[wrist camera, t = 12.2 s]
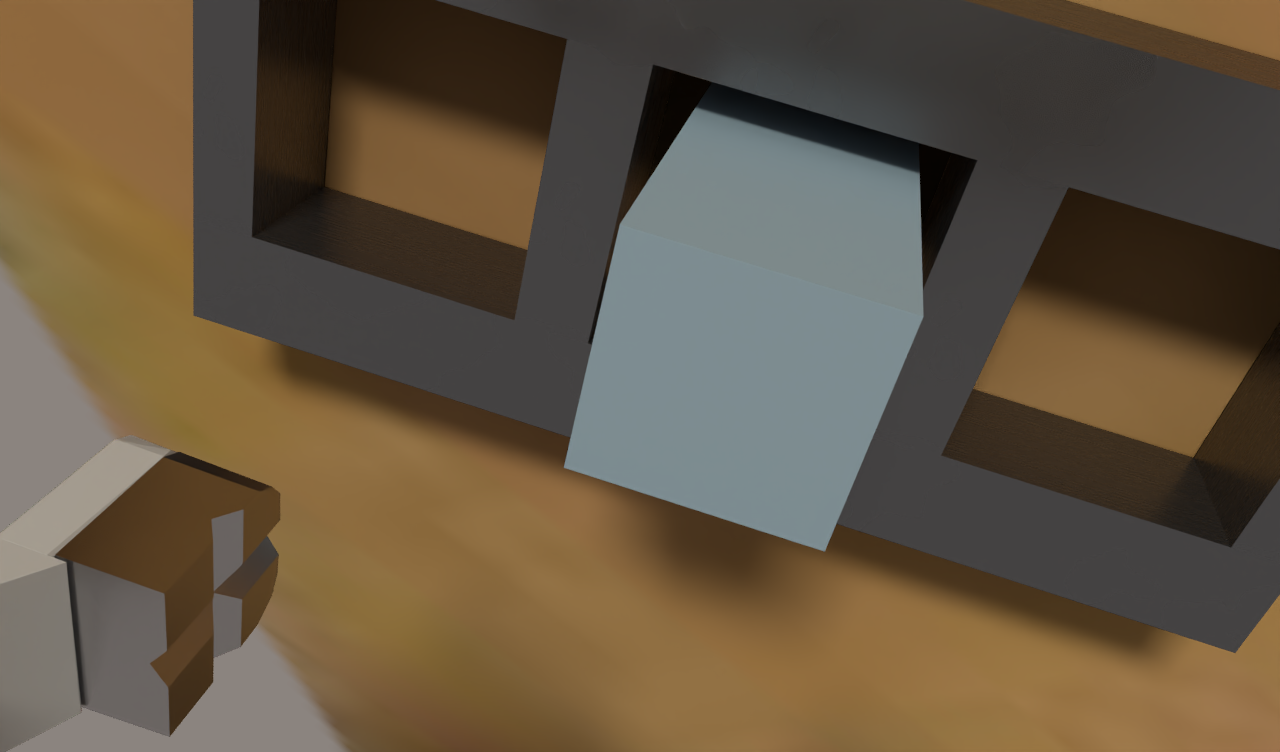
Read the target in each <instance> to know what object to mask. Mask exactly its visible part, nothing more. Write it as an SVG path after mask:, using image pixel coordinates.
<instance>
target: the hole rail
mask: <svg viewBox="0 0 1280 752" xmlns="http://www.w3.org/2000/svg"><path fill="white" fill-rule="evenodd" d="M437 1H440V2H444V3H447V4H450V5H454V6H457V7H461V8H464V9H467V10H471V11H474V12H478V13H481V14H484V15H488V16H491V17H494V18H498V19H501V20H505V21H508V22H511V23H515V24H518V25H521V26H525V27H528V28H532V29H535V30H538V31H542V32H545V33H549V34H552V35H555V36H559V37H562V38H565V39H567V43H566V48H565V53H564V59H563V64H562V69H561V75H560V80H559V85H558V91H557V96H556V101H555V107H554V112H553V117H552V123H551V128H550V133H549V139H548V144H547V149H546V155H545V160H544V165H543V171H542V176H541V181H540V187H539V192H538V197H537V203H536V208H535V213H534V219H533V224H532V229H531V235H530V240H529V245H528V250H525V249H522V248H518V247H515V246H512V245H509V244H506V243H502V242H499V241H496V240H493V239H489V238H486V237H483V236H480V235H477V234H473V233H470V232H467V231H464V230H461V229H457V228H454V227H451V226H448V225H445V224H441V223H438V222H435V221H432V220H429V219H425V218H422V217H419V216H416V215H412V214H409V213H406V212H403V211H400V210H396V209H393V208H390V207H387V206H384V205H380V204H377V203H374V202H371V201H368V200H364V199H361V198H358V197H355V196H351V195H348V194H345V193H342V192H339V191H335V190H332V189H329V188H326V187H324V176H325V161H326V147H327V133H328V118H329V104H330V90H331V75H332V61H333V47H334V32H335V18H336V4H337V0H193V193H194V316H197V317H200V318H203V319H206V320H209V321H212V322H216V323H219V324H222V325H225V326H228V327H231V328H234V329H237V330H240V331H243V332H246V333H249V334H253V335H256V336H259V337H262V338H265V339H268V340H271V341H274V342H277V343H280V344H283V345H287V346H290V347H293V348H296V349H299V350H302V351H305V352H308V353H311V354H314V355H317V356H320V357H324V358H327V359H330V360H333V361H336V362H339V363H342V364H345V365H348V366H351V367H354V368H357V369H361V370H364V371H367V372H370V373H373V374H376V375H379V376H382V377H385V378H388V379H391V380H395V381H398V382H401V383H404V384H407V385H410V386H413V387H416V388H419V389H422V390H425V391H428V392H432V393H435V394H438V395H441V396H444V397H447V398H450V399H453V400H456V401H459V402H462V403H465V404H469V405H472V406H475V407H478V408H481V409H484V410H487V411H490V412H493V413H496V414H499V415H502V416H506V417H509V418H512V419H515V420H518V421H521V422H524V423H527V424H530V425H533V426H536V427H540V428H543V429H546V430H549V431H552V432H555V433H558V434H561V435H564V436H567V437H570V438H571V434H572V430H573V425H574V421H575V417H576V412H577V408H578V404H579V399H580V395H581V391H582V386H583V382H584V378H585V373H586V369H587V365H588V360H589V356H590V352H591V347H592V343H593V339H594V334H595V330H596V326H597V321H598V317H599V313H600V308H601V304H602V300H603V295H604V291H605V287H606V282H607V278H608V274H609V269H610V265H611V261H612V256H613V252H614V247H615V243H616V239H617V234H618V230H619V226H620V223H621V222H622V220H623V219H624V217H625V216H626V214H627V213H628V211H629V210H630V208H631V206H632V205H633V203H634V202H635V200H636V199H637V197H638V196H639V194H640V193H641V191H642V189H643V188H644V186H645V185H646V183H647V182H648V180H649V176H650V172H651V168H652V164H653V160H654V156H655V151H656V147H657V143H658V139H659V135H660V131H661V127H662V123H663V119H664V115H665V111H666V107H667V103H668V99H669V95H670V90H671V86H672V82H673V78H674V74H675V71H677V72H681V73H684V74H687V75H691V76H694V77H697V78H701V79H704V80H708V81H711V82H714V83H718V84H721V85H725V86H728V87H731V88H735V89H738V90H741V91H745V92H748V93H752V94H755V95H758V96H762V97H765V98H769V99H772V100H775V101H779V102H782V103H785V104H789V105H792V106H796V107H799V108H802V109H806V110H809V111H813V112H816V113H819V114H823V115H826V116H829V117H833V118H836V119H840V120H843V121H846V122H850V123H853V124H857V125H860V126H863V127H867V128H870V129H873V130H877V131H880V132H884V133H887V134H890V135H894V136H897V137H901V138H904V139H907V140H911V141H914V142H917V143H921V144H924V145H928V146H931V147H934V148H938V149H941V150H945V151H948V152H951V155H950V158H949V160H948V163H947V165H946V168H945V170H944V173H943V175H942V178H941V180H940V183H939V185H938V187H937V190H936V192H935V195H934V197H933V200H932V202H931V205H930V207H929V210H928V212H927V215H926V217H925V220H924V222H923V225H922V227H921V241H922V279H923V319H922V321H921V323H920V326H919V328H918V331H917V333H916V335H915V338H914V340H913V343H912V345H911V347H910V350H909V352H908V354H907V357H906V359H905V362H904V364H903V366H902V369H901V371H900V373H899V376H898V378H897V381H896V383H895V385H894V388H893V390H892V392H891V395H890V397H889V400H888V402H887V404H886V407H885V409H884V412H883V414H882V416H881V419H880V421H879V423H878V426H877V428H876V431H875V433H874V435H873V438H872V440H871V442H870V445H869V447H868V450H867V452H866V454H865V457H864V459H863V462H862V464H861V466H860V469H859V471H858V473H857V476H856V478H855V481H854V483H853V485H852V488H851V490H850V492H849V495H848V497H847V500H846V502H845V504H844V507H843V509H842V511H841V514H840V516H839V519H838V521H837V523H836V524H839V525H842V526H845V527H848V528H851V529H854V530H857V531H860V532H863V533H867V534H870V535H873V536H876V537H879V538H882V539H885V540H888V541H891V542H894V543H897V544H900V545H904V546H907V547H910V548H913V549H916V550H919V551H922V552H925V553H928V554H931V555H934V556H938V557H941V558H944V559H947V560H950V561H953V562H956V563H959V564H962V565H965V566H968V567H971V568H975V569H978V570H981V571H984V572H987V573H990V574H993V575H996V576H999V577H1002V578H1005V579H1008V580H1012V581H1015V582H1018V583H1021V584H1024V585H1027V586H1030V587H1033V588H1036V589H1039V590H1042V591H1046V592H1049V593H1052V594H1055V595H1058V596H1061V597H1064V598H1067V599H1070V600H1073V601H1076V602H1079V603H1083V604H1086V605H1089V606H1092V607H1095V608H1098V609H1101V610H1104V611H1107V612H1110V613H1113V614H1116V615H1120V616H1123V617H1126V618H1129V619H1132V620H1135V621H1138V622H1141V623H1144V624H1147V625H1150V626H1153V627H1157V628H1160V629H1163V630H1166V631H1169V632H1172V633H1175V634H1178V635H1181V636H1184V637H1187V638H1191V639H1194V640H1197V641H1200V642H1203V643H1206V644H1209V645H1212V646H1215V647H1218V648H1221V649H1224V650H1228V651H1231V652H1234V653H1235V652H1236V651H1237V650H1238V649H1239V647H1240V646H1241V645H1242V643H1243V642H1244V641H1245V639H1246V638H1247V637H1248V635H1249V634H1250V633H1251V631H1252V630H1253V629H1254V627H1255V626H1256V625H1257V623H1258V622H1259V621H1260V620H1261V618H1262V617H1263V616H1264V614H1265V613H1266V612H1267V610H1268V609H1269V608H1270V606H1271V605H1272V604H1273V602H1274V601H1275V600H1276V598H1277V597H1278V596H1279V595H1280V324H1279V325H1278V327H1277V329H1276V330H1275V332H1274V333H1273V335H1272V336H1271V338H1270V340H1269V341H1268V343H1267V344H1266V346H1265V347H1264V349H1263V350H1262V352H1261V354H1260V355H1259V357H1258V358H1257V360H1256V361H1255V363H1254V365H1253V366H1252V368H1251V369H1250V371H1249V372H1248V374H1247V376H1246V377H1245V379H1244V380H1243V382H1242V383H1241V385H1240V387H1239V388H1238V390H1237V391H1236V393H1235V394H1234V396H1233V397H1232V399H1231V401H1230V402H1229V404H1228V405H1227V407H1226V408H1225V410H1224V412H1223V413H1222V415H1221V416H1220V418H1219V419H1218V421H1217V423H1216V424H1215V426H1214V427H1213V429H1212V430H1211V432H1210V434H1209V435H1208V437H1207V438H1206V440H1205V441H1204V443H1203V444H1202V446H1201V448H1200V449H1199V451H1198V452H1197V454H1196V455H1195V457H1194V458H1192V457H1189V456H1186V455H1183V454H1179V453H1176V452H1173V451H1170V450H1167V449H1163V448H1160V447H1157V446H1154V445H1151V444H1147V443H1144V442H1141V441H1138V440H1135V439H1131V438H1128V437H1125V436H1122V435H1118V434H1115V433H1112V432H1109V431H1106V430H1102V429H1099V428H1096V427H1093V426H1090V425H1086V424H1083V423H1080V422H1077V421H1074V420H1070V419H1067V418H1064V417H1061V416H1058V415H1054V414H1051V413H1048V412H1045V411H1041V410H1038V409H1035V408H1032V407H1029V406H1025V405H1022V404H1019V403H1016V402H1013V401H1009V400H1006V399H1003V398H1000V397H997V396H993V395H990V394H987V393H984V392H980V391H977V390H974V389H973V387H974V385H975V383H976V381H977V379H978V377H979V375H980V373H981V370H982V368H983V366H984V364H985V362H986V360H987V358H988V356H989V354H990V351H991V349H992V347H993V345H994V343H995V341H996V339H997V337H998V335H999V333H1000V330H1001V328H1002V326H1003V324H1004V322H1005V320H1006V318H1007V316H1008V314H1009V312H1010V309H1011V307H1012V305H1013V303H1014V301H1015V299H1016V297H1017V295H1018V293H1019V291H1020V288H1021V286H1022V284H1023V282H1024V280H1025V278H1026V276H1027V274H1028V272H1029V270H1030V267H1031V265H1032V263H1033V261H1034V259H1035V257H1036V255H1037V253H1038V251H1039V249H1040V246H1041V244H1042V242H1043V240H1044V238H1045V236H1046V234H1047V232H1048V230H1049V228H1050V225H1051V223H1052V221H1053V219H1054V217H1055V215H1056V213H1057V211H1058V209H1059V206H1060V204H1061V202H1062V200H1063V198H1064V196H1065V194H1066V192H1067V190H1068V188H1069V187H1070V188H1073V189H1077V190H1080V191H1083V192H1087V193H1090V194H1093V195H1097V196H1100V197H1104V198H1107V199H1110V200H1114V201H1117V202H1121V203H1124V204H1127V205H1131V206H1134V207H1137V208H1141V209H1144V210H1148V211H1151V212H1154V213H1158V214H1161V215H1165V216H1168V217H1171V218H1175V219H1178V220H1181V221H1185V222H1188V223H1192V224H1195V225H1198V226H1202V227H1205V228H1209V229H1212V230H1215V231H1219V232H1222V233H1225V234H1229V235H1232V236H1236V237H1239V238H1242V239H1246V240H1249V241H1252V242H1256V243H1259V244H1263V245H1266V246H1269V247H1273V248H1276V249H1280V61H1279V60H1275V59H1271V58H1268V57H1264V56H1261V55H1257V54H1254V53H1250V52H1247V51H1243V50H1240V49H1236V48H1233V47H1229V46H1225V45H1222V44H1218V43H1215V42H1211V41H1208V40H1204V39H1201V38H1197V37H1194V36H1190V35H1187V34H1183V33H1179V32H1176V31H1172V30H1169V29H1165V28H1162V27H1158V26H1155V25H1151V24H1148V23H1144V22H1141V21H1137V20H1133V19H1130V18H1126V17H1123V16H1119V15H1116V14H1112V13H1109V12H1105V11H1102V10H1098V9H1095V8H1091V7H1087V6H1084V5H1080V4H1077V3H1073V2H1070V1H1066V0H437Z"/></svg>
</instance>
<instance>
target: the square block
mask: <svg viewBox="0 0 1280 752" xmlns="http://www.w3.org/2000/svg"><path fill="white" fill-rule="evenodd" d="M922 319H923V279H922V241H921V203H920V165H919V143H917V142H914V141H911V140H907V139H904V138H901V137H897V136H894V135H890V134H887V133H884V132H880V131H877V130H873V129H870V128H867V127H863V126H860V125H857V124H853V123H850V122H846V121H843V120H840V119H836V118H833V117H829V116H826V115H823V114H819V113H816V112H813V111H809V110H806V109H802V108H799V107H796V106H792V105H789V104H785V103H782V102H779V101H775V100H772V99H769V98H765V97H762V96H758V95H755V94H752V93H748V92H745V91H741V90H738V89H735V88H731V87H728V86H725V85H721V84H718V83H714V82H712V83H711V85H710V86H709V88H708V89H707V91H706V92H705V94H704V95H703V97H702V98H701V100H700V102H699V103H698V105H697V106H696V108H695V109H694V111H693V112H692V114H691V115H690V117H689V119H688V120H687V122H686V123H685V125H684V126H683V128H682V129H681V131H680V132H679V134H678V135H677V137H676V139H675V140H674V142H673V143H672V145H671V146H670V148H669V149H668V151H667V152H666V154H665V156H664V157H663V159H662V160H661V162H660V163H659V165H658V166H657V168H656V169H655V171H654V172H653V174H652V176H651V177H650V179H649V180H648V182H647V183H646V185H645V186H644V188H643V189H642V191H641V193H640V194H639V196H638V197H637V199H636V200H635V202H634V203H633V205H632V206H631V208H630V210H629V211H628V213H627V214H626V216H625V217H624V219H623V220H622V222H621V223H620V226H619V230H618V234H617V239H616V243H615V247H614V252H613V256H612V261H611V265H610V269H609V274H608V278H607V282H606V287H605V291H604V295H603V300H602V304H601V308H600V313H599V317H598V321H597V326H596V330H595V334H594V339H593V343H592V347H591V352H590V356H589V360H588V365H587V369H586V373H585V378H584V382H583V386H582V391H581V395H580V399H579V404H578V408H577V412H576V417H575V421H574V425H573V430H572V434H571V438H570V443H569V447H568V451H567V456H566V460H565V465H564V468H567V469H570V470H573V471H576V472H579V473H582V474H585V475H588V476H591V477H595V478H598V479H601V480H604V481H607V482H610V483H613V484H616V485H619V486H622V487H626V488H629V489H632V490H635V491H638V492H641V493H644V494H647V495H650V496H654V497H657V498H660V499H663V500H666V501H669V502H672V503H675V504H678V505H682V506H685V507H688V508H691V509H694V510H697V511H700V512H703V513H706V514H709V515H713V516H716V517H719V518H722V519H725V520H728V521H731V522H734V523H737V524H741V525H744V526H747V527H750V528H753V529H756V530H759V531H762V532H765V533H768V534H772V535H775V536H778V537H781V538H784V539H787V540H790V541H793V542H796V543H800V544H803V545H806V546H809V547H812V548H815V549H818V550H821V551H824V552H825V550H826V547H827V545H828V542H829V540H830V538H831V535H832V533H833V531H834V528H835V526H836V523H837V521H838V519H839V516H840V514H841V511H842V509H843V507H844V504H845V502H846V500H847V497H848V495H849V492H850V490H851V488H852V485H853V483H854V481H855V478H856V476H857V473H858V471H859V469H860V466H861V464H862V462H863V459H864V457H865V454H866V452H867V450H868V447H869V445H870V442H871V440H872V438H873V435H874V433H875V431H876V428H877V426H878V423H879V421H880V419H881V416H882V414H883V412H884V409H885V407H886V404H887V402H888V400H889V397H890V395H891V392H892V390H893V388H894V385H895V383H896V381H897V378H898V376H899V373H900V371H901V369H902V366H903V364H904V362H905V359H906V357H907V354H908V352H909V350H910V347H911V345H912V343H913V340H914V338H915V335H916V333H917V331H918V328H919V326H920V323H921V321H922Z"/></svg>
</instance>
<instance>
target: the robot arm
mask: <svg viewBox="0 0 1280 752" xmlns="http://www.w3.org/2000/svg"><path fill="white" fill-rule="evenodd" d="M279 521H280V493H279V492H278V491H277V490H275V489H274V488H273V487H272V486H269V485H266V484H264V483H261V482H258V481H256V480H253V479H250V478H248V477H245V476H242V475H240V474H237V473H234V472H232V471H229V470H226V469H224V468H221V467H218V466H216V465H213V464H210V463H208V462H205V461H202V460H200V459H197V458H194V457H192V456H189V455H186V454H184V453H181V452H175V451H172V450H170V449H167V448H164V447H162V446H159V445H157V444H154V443H151V442H149V441H146V440H143V439H141V438H138V437H135V436H133V435H130V436H126V437H122V438H119V439H115V440H114V441H112V442H111V443H109V444H108V445H107V446H106V447H104V448H103V449H102V450H101V451H99V452H98V453H97V454H96V455H95V456H93V457H92V458H91V459H90V460H89V461H87V462H86V463H85V464H84V465H83V466H81V467H80V468H79V469H78V470H76V471H75V472H74V473H73V474H71V475H70V476H69V477H68V478H66V479H65V480H64V481H63V482H62V483H60V484H59V485H58V486H57V487H55V488H54V489H53V490H52V491H51V492H50V493H48V494H47V495H46V496H44V497H43V498H42V499H41V500H39V501H38V502H37V503H36V504H35V505H33V506H32V507H31V508H30V509H28V510H27V511H26V512H25V513H24V514H23V515H21V516H20V517H19V518H17V519H16V520H15V521H14V522H13V523H11V524H10V525H9V526H8V527H6V528H5V529H4V530H3V531H2V532H0V752H6V751H8V750H10V749H12V748H14V747H16V746H18V745H20V744H21V743H24V742H26V741H27V740H29V739H31V738H33V737H35V736H37V735H39V734H41V733H43V732H45V731H47V730H49V729H51V728H53V727H55V726H57V725H59V724H61V723H62V722H64V721H66V720H68V719H70V718H72V717H74V716H76V715H78V714H80V713H81V711H82V708H81V707H83V708H87V709H90V710H92V711H95V712H98V713H101V714H104V715H107V716H110V717H113V718H116V719H119V720H122V721H125V722H128V723H131V724H134V725H137V726H139V727H142V728H145V729H148V730H151V731H155V732H157V733H160V734H163V735H166V736H169V737H170V735H171V734H172V733H173V732H174V731H175V729H176V728H177V727H178V726H179V724H180V723H181V722H182V720H183V719H184V718H185V717H186V716H187V714H188V713H189V712H190V710H191V709H192V708H193V707H194V705H195V704H196V703H197V702H198V700H199V699H200V698H201V697H202V695H203V694H204V693H205V692H206V690H207V689H208V688H209V687H210V685H211V684H212V683H213V658H214V657H217V656H219V655H222V654H225V653H227V652H229V651H232V650H234V649H237V648H239V647H241V646H242V644H243V643H244V642H245V641H246V639H247V638H248V637H249V635H250V634H251V633H252V631H253V630H254V629H255V627H256V626H257V625H258V623H259V621H260V619H261V617H262V615H263V613H264V611H265V609H266V607H267V605H268V603H269V600H270V598H271V596H272V593H273V589H274V585H275V581H276V577H277V573H278V557H279V554H278V553H277V551H276V549H275V548H274V546H273V545H272V543H271V541H270V540H269V538H268V537H267V535H268V534H269V533H270V531H271V530H272V529H273V528H274V527H275V525H276V524H277V523H278V522H279Z"/></svg>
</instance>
